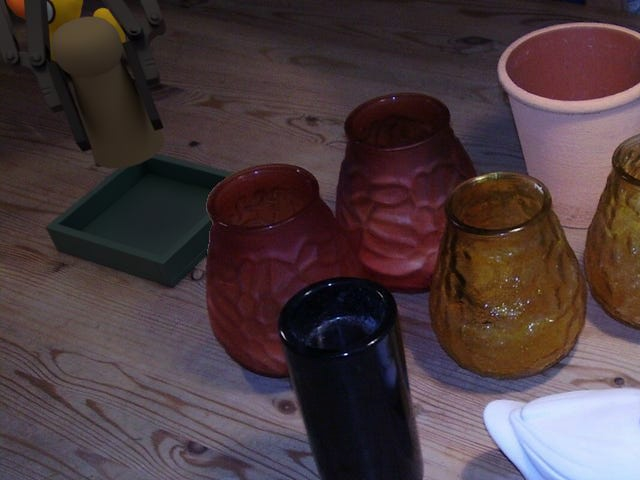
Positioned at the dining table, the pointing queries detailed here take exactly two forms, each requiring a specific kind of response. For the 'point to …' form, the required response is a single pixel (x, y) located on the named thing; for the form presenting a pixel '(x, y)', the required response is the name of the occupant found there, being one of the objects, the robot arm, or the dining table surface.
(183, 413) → the dining table surface
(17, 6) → the duckling
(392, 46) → the dining table surface
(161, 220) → the tray
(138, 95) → the brown piece
